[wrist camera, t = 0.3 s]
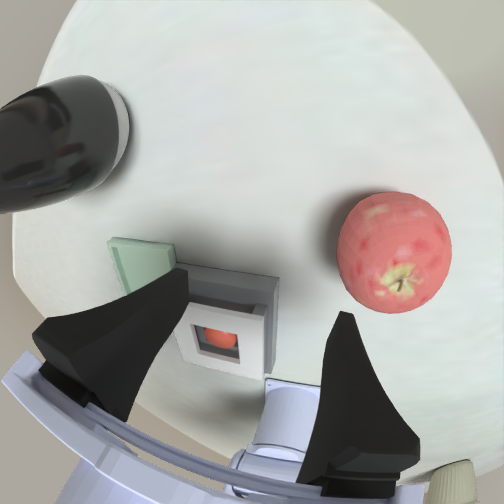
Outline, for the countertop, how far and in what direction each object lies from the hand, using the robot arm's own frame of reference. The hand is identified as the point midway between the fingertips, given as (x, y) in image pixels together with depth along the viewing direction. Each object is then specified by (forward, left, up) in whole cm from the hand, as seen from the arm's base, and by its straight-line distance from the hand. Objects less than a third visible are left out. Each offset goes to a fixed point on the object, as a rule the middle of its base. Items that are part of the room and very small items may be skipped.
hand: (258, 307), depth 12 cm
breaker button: (-12, +6, -9) cm, 16 cm away
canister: (-68, -55, -10) cm, 88 cm away
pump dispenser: (+8, +17, -10) cm, 21 cm away
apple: (0, -7, -10) cm, 12 cm away
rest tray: (-8, +15, -10) cm, 20 cm away
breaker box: (-12, +6, -10) cm, 16 cm away
